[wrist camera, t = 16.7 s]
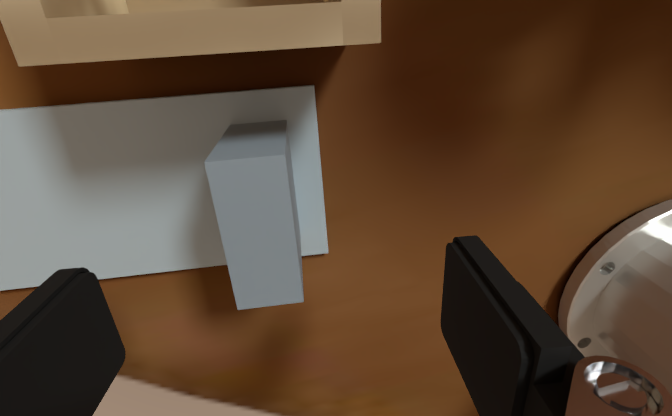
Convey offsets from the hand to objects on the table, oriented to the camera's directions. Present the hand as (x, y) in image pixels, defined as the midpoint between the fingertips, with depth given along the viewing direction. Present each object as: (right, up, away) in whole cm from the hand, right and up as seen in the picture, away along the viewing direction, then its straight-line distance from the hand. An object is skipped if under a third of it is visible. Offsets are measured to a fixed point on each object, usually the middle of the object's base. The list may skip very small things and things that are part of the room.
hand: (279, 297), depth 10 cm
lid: (-7, +3, +7) cm, 11 cm away
